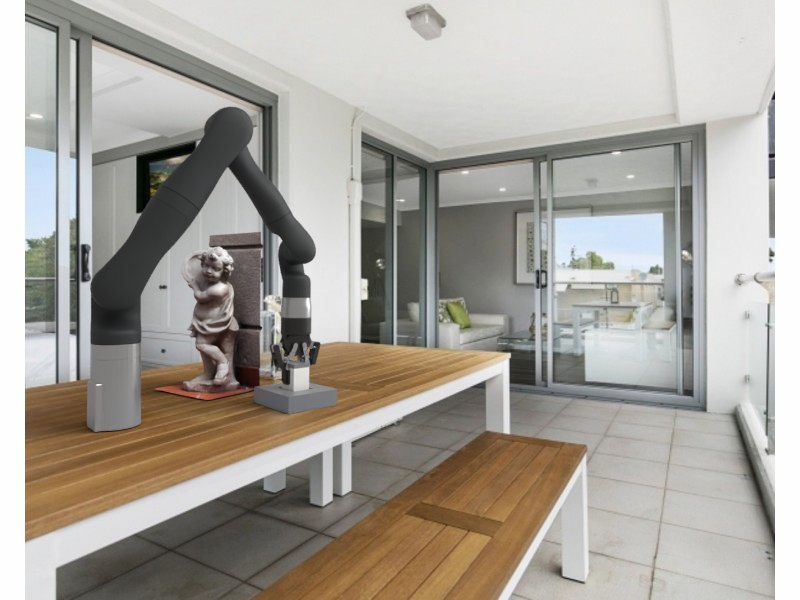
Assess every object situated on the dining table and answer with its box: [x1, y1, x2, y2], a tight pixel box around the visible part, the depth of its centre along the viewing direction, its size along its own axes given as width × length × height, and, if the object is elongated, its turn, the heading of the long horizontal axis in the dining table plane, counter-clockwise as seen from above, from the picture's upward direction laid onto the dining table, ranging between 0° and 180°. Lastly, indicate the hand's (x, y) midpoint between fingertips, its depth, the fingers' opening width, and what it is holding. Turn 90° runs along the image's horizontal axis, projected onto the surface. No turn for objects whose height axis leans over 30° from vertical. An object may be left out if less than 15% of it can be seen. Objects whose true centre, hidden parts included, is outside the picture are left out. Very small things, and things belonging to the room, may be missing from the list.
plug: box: [281, 360, 310, 392], centre depth 127 cm, size 4×6×9 cm
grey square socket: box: [253, 381, 338, 415], centre depth 127 cm, size 14×16×4 cm
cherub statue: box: [155, 231, 264, 401], centre depth 142 cm, size 23×19×45 cm
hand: (295, 382), depth 127 cm, fingers closed on plug, 4 cm apart
